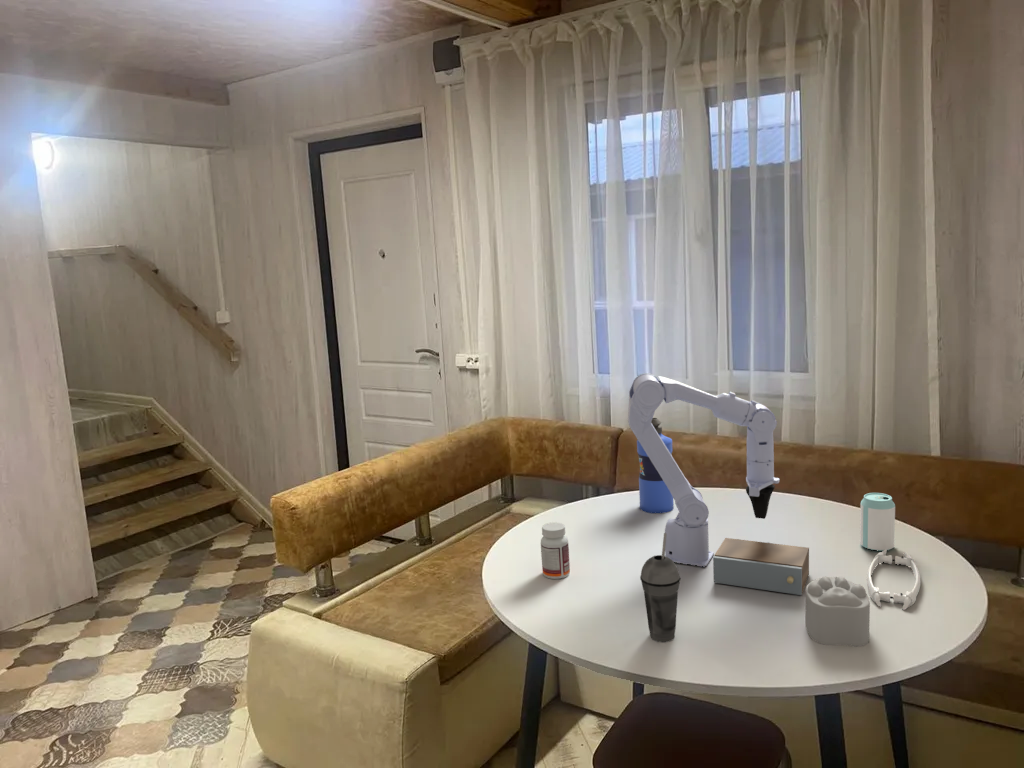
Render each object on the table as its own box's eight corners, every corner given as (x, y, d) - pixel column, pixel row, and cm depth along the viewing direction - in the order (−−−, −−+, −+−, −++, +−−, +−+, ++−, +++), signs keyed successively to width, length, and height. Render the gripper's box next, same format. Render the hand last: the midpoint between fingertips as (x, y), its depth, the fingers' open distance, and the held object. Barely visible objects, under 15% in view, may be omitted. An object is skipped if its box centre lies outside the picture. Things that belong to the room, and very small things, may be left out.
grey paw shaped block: (810, 644, 138) (811, 598, 136) (800, 610, 150) (800, 568, 148) (874, 647, 135) (874, 601, 134) (858, 612, 148) (859, 569, 146)
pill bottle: (563, 566, 177) (560, 519, 175) (574, 576, 172) (571, 528, 170) (538, 571, 175) (535, 524, 173) (549, 582, 170) (546, 533, 168)
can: (877, 538, 181) (878, 489, 179) (901, 549, 174) (902, 498, 172) (853, 544, 179) (853, 494, 176) (876, 555, 172) (877, 503, 170)
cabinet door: (712, 584, 163) (712, 559, 162) (714, 580, 164) (714, 555, 163) (800, 597, 154) (800, 570, 153) (801, 593, 156) (801, 567, 155)
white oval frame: (920, 563, 168) (920, 614, 146) (870, 557, 172) (863, 606, 150) (920, 551, 167) (921, 601, 145) (870, 546, 172) (863, 593, 150)
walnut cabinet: (715, 581, 164) (714, 554, 163) (725, 563, 173) (725, 537, 172) (802, 594, 156) (802, 566, 155) (808, 574, 165) (809, 547, 164)
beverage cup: (638, 628, 147) (634, 528, 143) (675, 624, 148) (672, 524, 144) (648, 647, 140) (644, 543, 136) (687, 643, 140) (684, 539, 137)
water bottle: (639, 513, 207) (635, 423, 203) (639, 502, 216) (636, 415, 212) (674, 513, 206) (672, 422, 201) (673, 501, 215) (670, 414, 210)
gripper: (773, 469, 163) (773, 530, 165) (784, 451, 175) (784, 508, 178) (739, 467, 166) (739, 526, 169) (752, 449, 179) (753, 505, 181)
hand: (760, 517), depth 174 cm, fingers closed
